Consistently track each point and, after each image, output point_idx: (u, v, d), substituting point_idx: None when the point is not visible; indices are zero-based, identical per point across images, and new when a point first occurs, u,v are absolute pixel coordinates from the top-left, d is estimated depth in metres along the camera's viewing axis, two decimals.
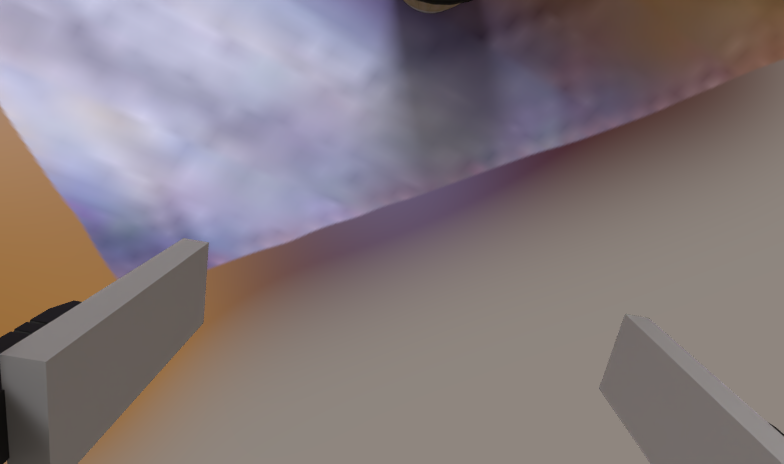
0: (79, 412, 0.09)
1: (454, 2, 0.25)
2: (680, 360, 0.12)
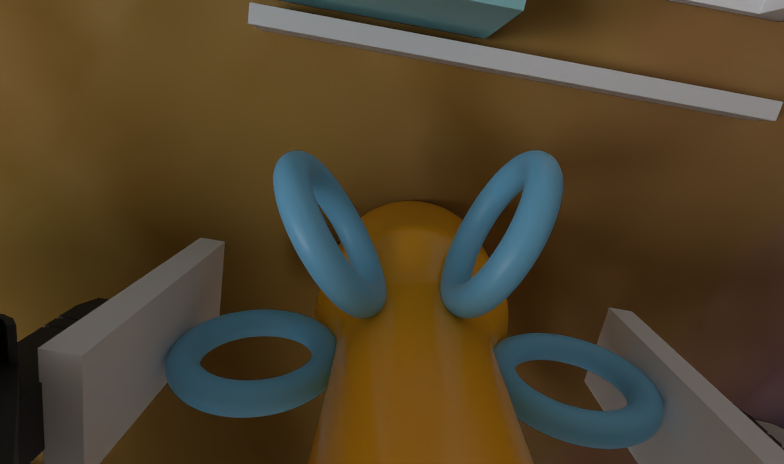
0: (109, 405, 0.09)
1: None
2: (659, 351, 0.12)
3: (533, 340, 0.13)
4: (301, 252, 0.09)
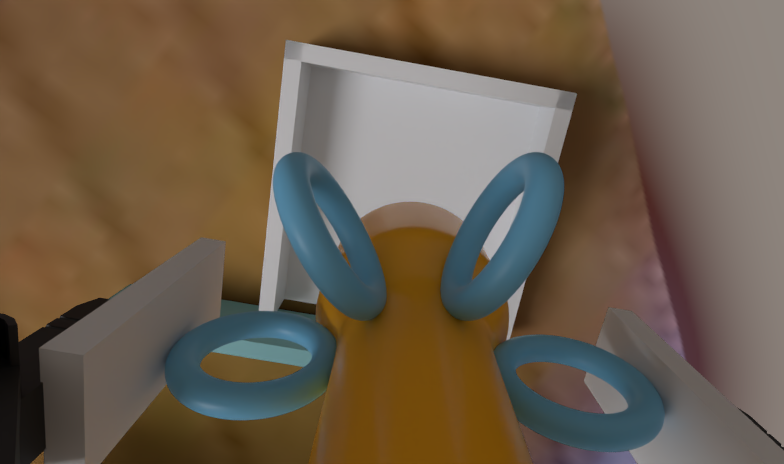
0: (111, 404, 0.09)
1: None
2: (658, 351, 0.12)
3: (533, 342, 0.13)
4: (301, 254, 0.09)
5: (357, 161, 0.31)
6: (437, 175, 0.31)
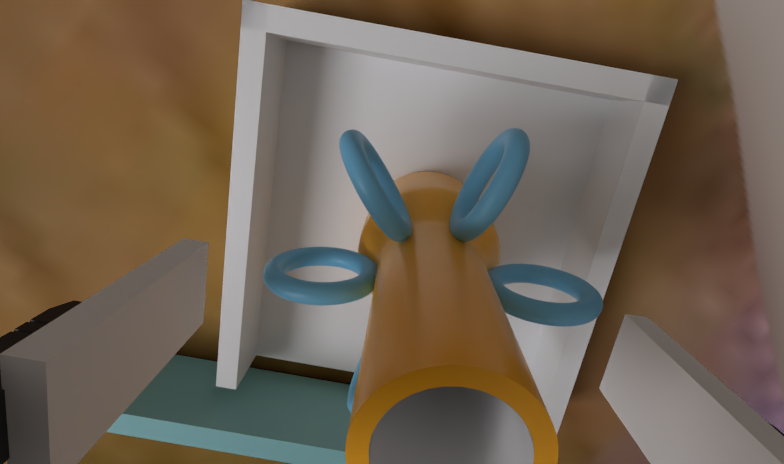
0: (79, 412, 0.09)
1: None
2: (680, 360, 0.12)
3: (517, 267, 0.18)
4: (361, 192, 0.14)
5: None
6: None
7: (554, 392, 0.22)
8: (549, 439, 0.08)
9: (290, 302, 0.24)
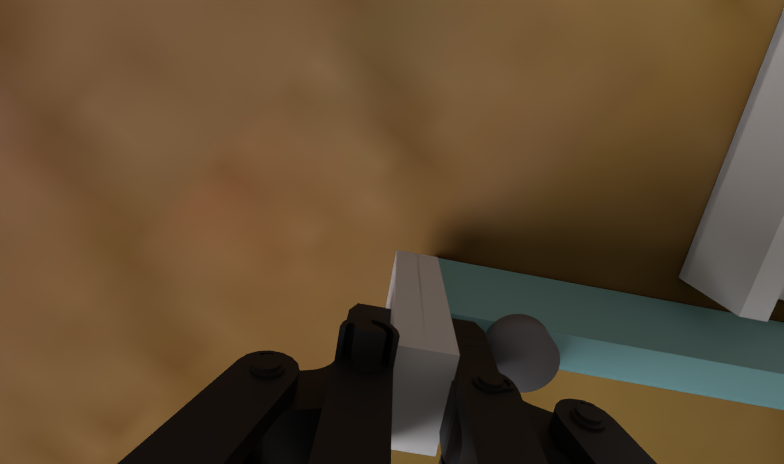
0: None
1: None
2: (425, 282, 0.14)
3: None
4: None
5: None
6: None
7: None
8: None
9: None
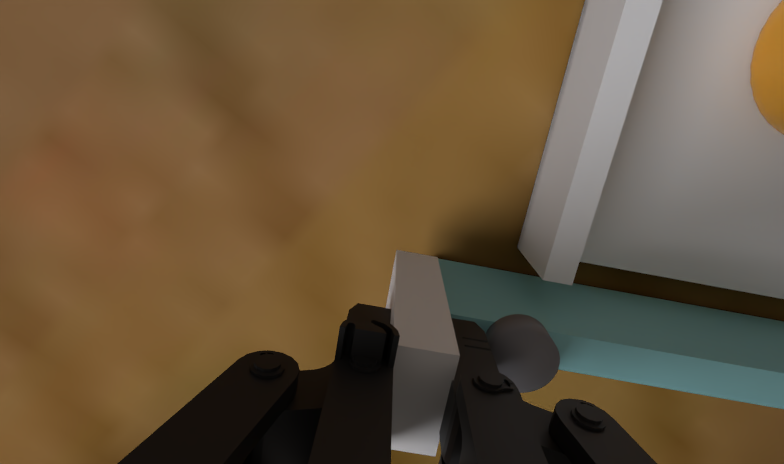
0: None
1: None
2: (425, 282, 0.14)
3: None
4: None
5: None
6: None
7: None
8: None
9: (610, 173, 0.17)
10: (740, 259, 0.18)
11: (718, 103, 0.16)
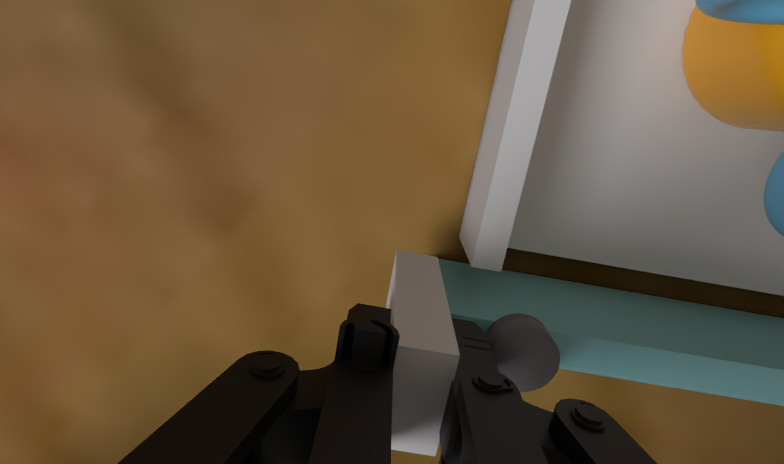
0: None
1: None
2: (425, 282, 0.14)
3: None
4: None
5: None
6: None
7: None
8: None
9: (547, 160, 0.17)
10: (681, 246, 0.18)
11: (652, 88, 0.16)
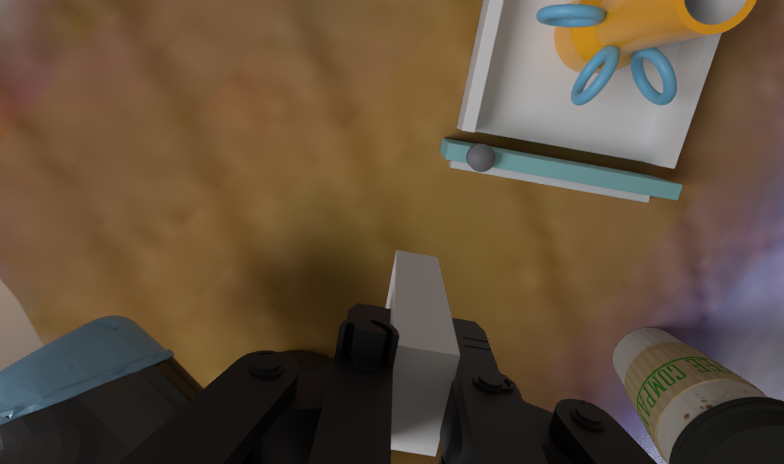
0: None
1: None
2: (426, 282, 0.14)
3: None
4: None
5: None
6: None
7: (677, 129, 0.35)
8: None
9: (497, 89, 0.37)
10: (561, 130, 0.38)
11: (542, 55, 0.37)
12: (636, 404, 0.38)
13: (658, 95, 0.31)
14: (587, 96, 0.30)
